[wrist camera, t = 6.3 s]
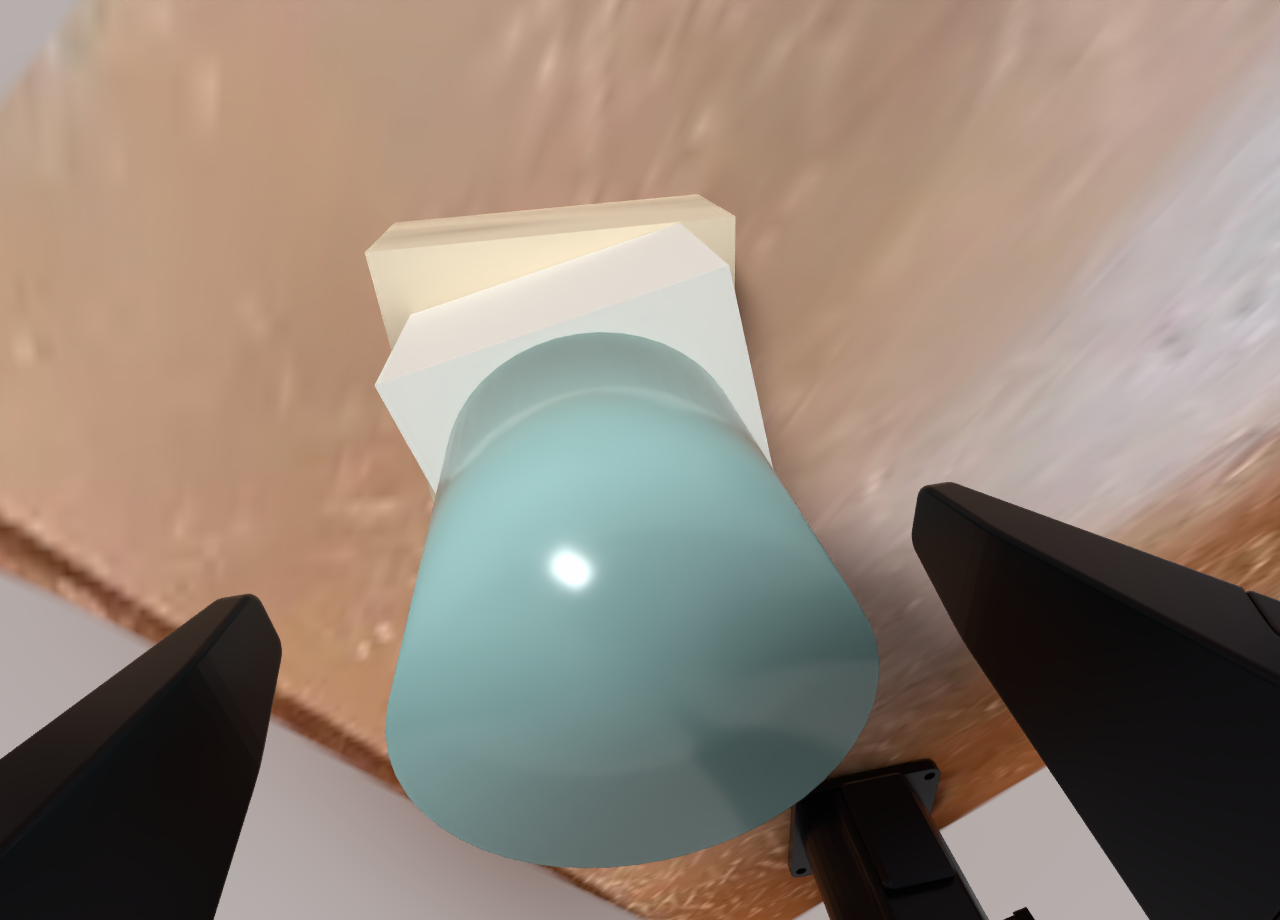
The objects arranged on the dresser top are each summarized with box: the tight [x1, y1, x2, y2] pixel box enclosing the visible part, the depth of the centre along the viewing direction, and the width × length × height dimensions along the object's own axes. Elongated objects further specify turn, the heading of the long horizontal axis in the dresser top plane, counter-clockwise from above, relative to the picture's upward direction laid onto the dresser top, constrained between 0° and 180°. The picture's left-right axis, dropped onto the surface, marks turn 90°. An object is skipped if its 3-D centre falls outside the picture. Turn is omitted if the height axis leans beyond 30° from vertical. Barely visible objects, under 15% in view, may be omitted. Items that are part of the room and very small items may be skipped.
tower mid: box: [375, 223, 773, 494], centre depth 12 cm, size 6×6×4 cm
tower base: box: [365, 194, 735, 505], centre depth 15 cm, size 7×7×4 cm
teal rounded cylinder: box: [385, 332, 879, 868], centre depth 9 cm, size 5×5×5 cm
